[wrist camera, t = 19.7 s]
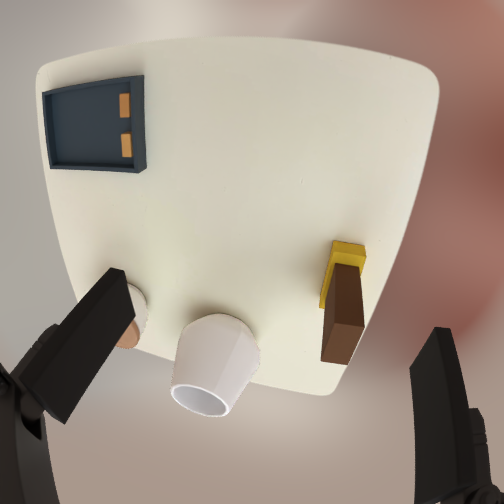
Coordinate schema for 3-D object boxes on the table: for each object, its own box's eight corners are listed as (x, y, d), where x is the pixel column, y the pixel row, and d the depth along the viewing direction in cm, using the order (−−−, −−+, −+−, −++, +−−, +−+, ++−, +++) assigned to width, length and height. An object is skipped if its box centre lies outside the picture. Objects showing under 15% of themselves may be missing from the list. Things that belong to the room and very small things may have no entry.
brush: (333, 240, 37) (332, 310, 26) (364, 245, 36) (374, 316, 26) (319, 296, 42) (313, 368, 31) (347, 300, 41) (347, 373, 31)
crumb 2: (136, 131, 34) (129, 133, 33) (137, 154, 35) (131, 157, 34) (127, 131, 34) (120, 134, 33) (128, 153, 36) (122, 156, 34)
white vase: (177, 330, 53) (144, 391, 41) (210, 289, 45) (174, 360, 34) (238, 367, 55) (217, 431, 43) (282, 335, 47) (265, 410, 36)
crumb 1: (135, 91, 31) (128, 93, 30) (135, 115, 33) (129, 117, 31) (125, 92, 31) (119, 94, 30) (126, 115, 33) (119, 117, 32)
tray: (144, 75, 30) (134, 76, 28) (146, 168, 37) (138, 173, 35) (51, 90, 33) (41, 92, 31) (58, 164, 40) (50, 169, 38)
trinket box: (150, 327, 54) (128, 364, 47) (104, 298, 53) (77, 331, 46) (164, 293, 48) (137, 334, 41) (111, 261, 47) (78, 295, 40)
